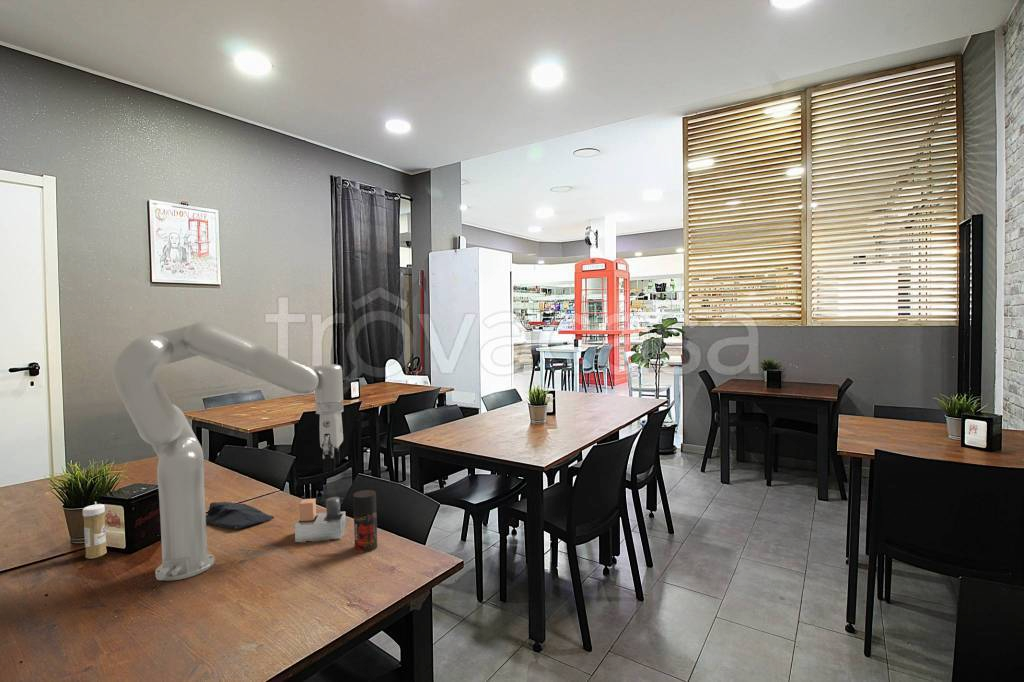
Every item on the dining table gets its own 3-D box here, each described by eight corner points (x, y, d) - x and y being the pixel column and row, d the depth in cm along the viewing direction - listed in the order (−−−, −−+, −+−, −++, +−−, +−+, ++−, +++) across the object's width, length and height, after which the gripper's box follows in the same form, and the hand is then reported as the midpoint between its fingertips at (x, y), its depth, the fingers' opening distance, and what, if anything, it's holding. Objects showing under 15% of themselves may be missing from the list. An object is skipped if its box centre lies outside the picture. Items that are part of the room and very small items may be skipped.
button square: (313, 520, 142) (312, 502, 142) (300, 521, 142) (299, 503, 141) (316, 515, 146) (315, 498, 146) (303, 516, 145) (302, 499, 145)
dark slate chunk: (229, 537, 145) (229, 521, 145) (193, 521, 157) (193, 506, 157) (279, 519, 158) (278, 504, 158) (242, 506, 170) (241, 492, 170)
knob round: (338, 518, 143) (338, 501, 143) (325, 519, 143) (324, 502, 142) (341, 513, 147) (340, 496, 147) (327, 514, 146) (327, 497, 146)
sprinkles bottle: (105, 556, 133) (103, 507, 133) (83, 561, 131) (81, 511, 130) (108, 549, 137) (105, 502, 137) (86, 554, 135) (83, 505, 134)
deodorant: (350, 549, 135) (348, 495, 134) (366, 541, 140) (364, 488, 139) (366, 554, 132) (364, 498, 131) (382, 545, 137) (380, 491, 137)
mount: (341, 538, 142) (340, 519, 141) (295, 542, 140) (294, 523, 139) (345, 527, 149) (345, 509, 149) (302, 531, 147) (301, 512, 147)
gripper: (337, 411, 136) (339, 476, 136) (348, 401, 153) (349, 459, 153) (308, 413, 134) (311, 478, 135) (322, 402, 151) (324, 460, 152)
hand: (331, 467), depth 144 cm, fingers open, 6 cm apart
